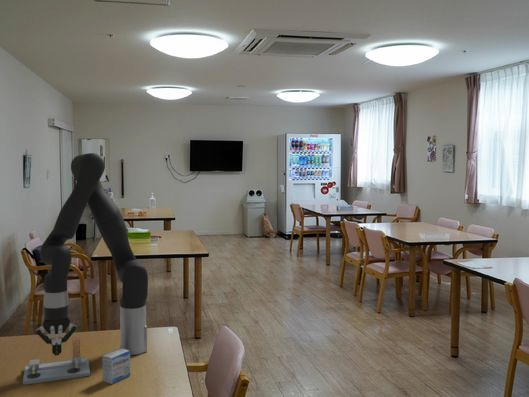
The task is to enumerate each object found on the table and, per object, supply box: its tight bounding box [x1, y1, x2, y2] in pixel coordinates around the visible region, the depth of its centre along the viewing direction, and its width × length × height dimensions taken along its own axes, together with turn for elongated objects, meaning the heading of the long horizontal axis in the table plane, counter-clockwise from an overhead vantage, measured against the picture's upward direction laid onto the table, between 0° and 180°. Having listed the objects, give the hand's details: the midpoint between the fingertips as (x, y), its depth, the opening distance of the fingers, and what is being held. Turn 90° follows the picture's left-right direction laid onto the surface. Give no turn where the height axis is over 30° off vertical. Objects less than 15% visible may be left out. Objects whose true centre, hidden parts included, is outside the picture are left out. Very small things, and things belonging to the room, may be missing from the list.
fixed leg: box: [28, 358, 41, 376], centre depth 167 cm, size 3×7×2 cm, turn 21°
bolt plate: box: [22, 358, 91, 386], centre depth 170 cm, size 20×12×2 cm, turn 111°
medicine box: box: [101, 348, 131, 385], centre depth 166 cm, size 8×4×9 cm, turn 148°
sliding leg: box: [71, 336, 82, 370], centre depth 172 cm, size 3×7×9 cm, turn 21°
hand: (56, 354), depth 171 cm, fingers closed
